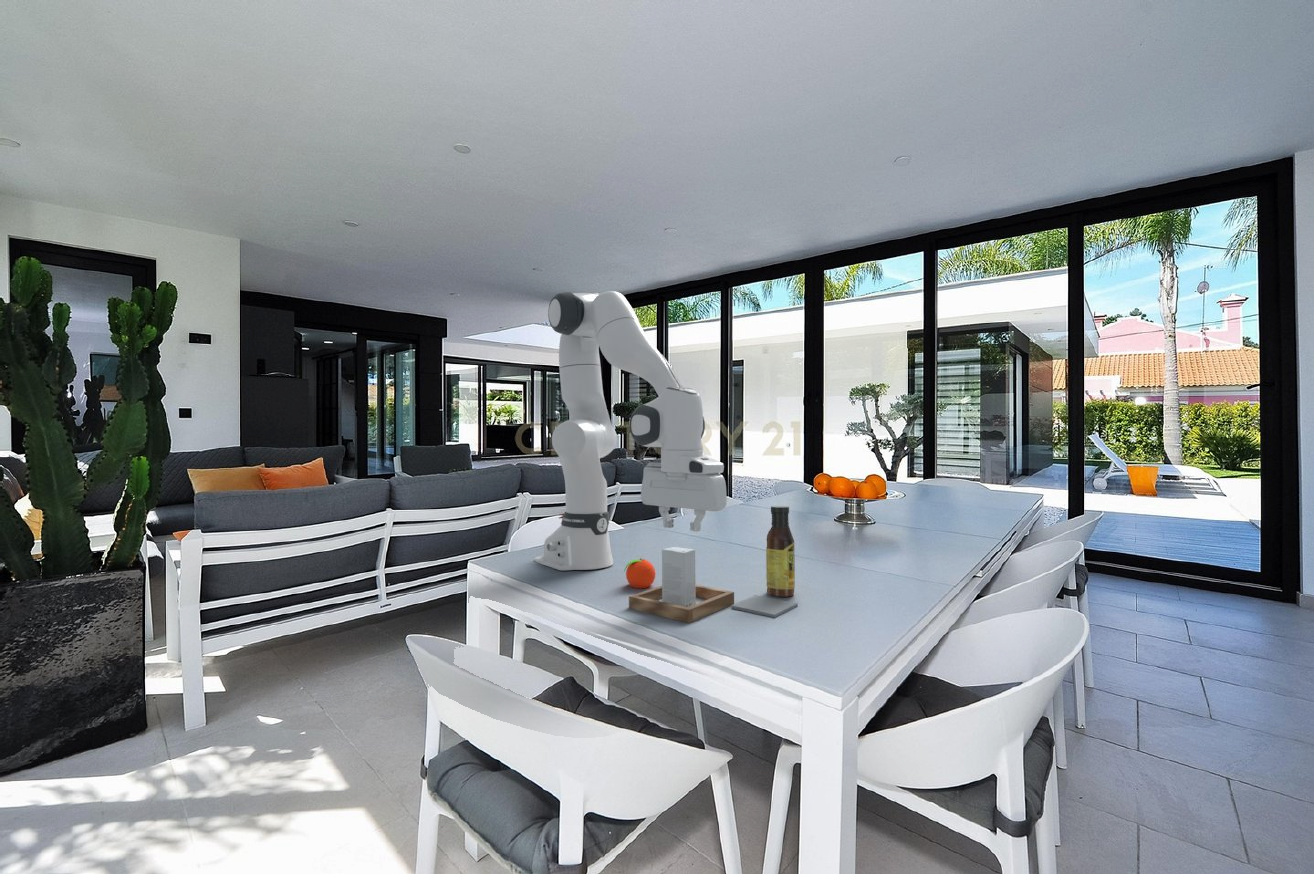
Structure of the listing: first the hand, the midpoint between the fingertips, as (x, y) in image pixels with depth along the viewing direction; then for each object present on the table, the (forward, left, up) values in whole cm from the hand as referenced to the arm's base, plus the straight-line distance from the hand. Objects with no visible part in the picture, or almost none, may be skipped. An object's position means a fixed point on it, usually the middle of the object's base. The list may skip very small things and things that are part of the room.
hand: (681, 529), depth 124 cm
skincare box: (0, 0, -16) cm, 16 cm away
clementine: (-16, +5, -16) cm, 23 cm away
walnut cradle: (0, 0, -16) cm, 16 cm away
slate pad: (+14, +10, -16) cm, 24 cm away
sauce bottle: (+12, +21, -16) cm, 29 cm away
